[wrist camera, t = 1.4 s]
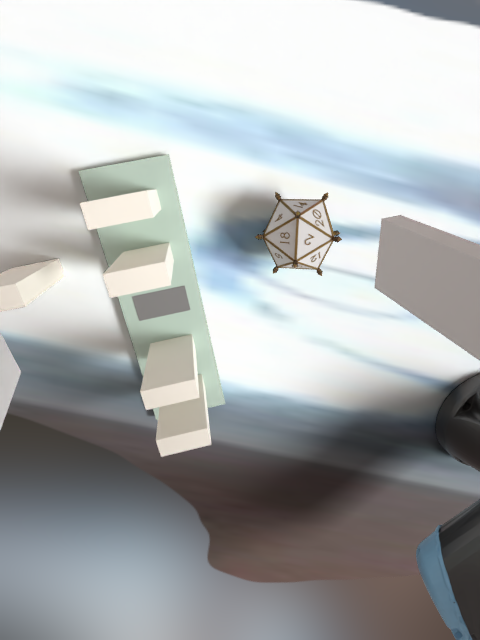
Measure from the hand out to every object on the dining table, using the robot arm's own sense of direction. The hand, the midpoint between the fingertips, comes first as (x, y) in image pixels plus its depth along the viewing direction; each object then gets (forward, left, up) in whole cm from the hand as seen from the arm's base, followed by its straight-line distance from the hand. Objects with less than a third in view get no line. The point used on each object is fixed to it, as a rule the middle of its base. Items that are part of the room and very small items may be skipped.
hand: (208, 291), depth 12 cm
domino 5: (-19, +5, -29) cm, 35 cm away
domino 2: (+3, +5, -29) cm, 30 cm away
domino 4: (-14, +5, -29) cm, 33 cm away
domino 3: (-3, +5, -29) cm, 30 cm away
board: (-8, +5, -30) cm, 32 cm away
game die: (-3, -11, -30) cm, 32 cm away
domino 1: (-2, +17, -30) cm, 35 cm away
